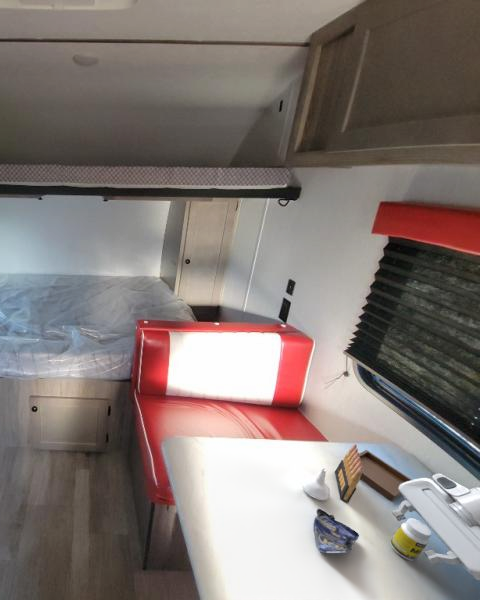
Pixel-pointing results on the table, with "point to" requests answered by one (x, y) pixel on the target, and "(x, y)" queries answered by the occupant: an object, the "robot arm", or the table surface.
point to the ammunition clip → (349, 474)
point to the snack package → (332, 534)
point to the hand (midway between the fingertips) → (410, 535)
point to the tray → (381, 475)
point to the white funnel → (316, 486)
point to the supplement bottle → (410, 539)
